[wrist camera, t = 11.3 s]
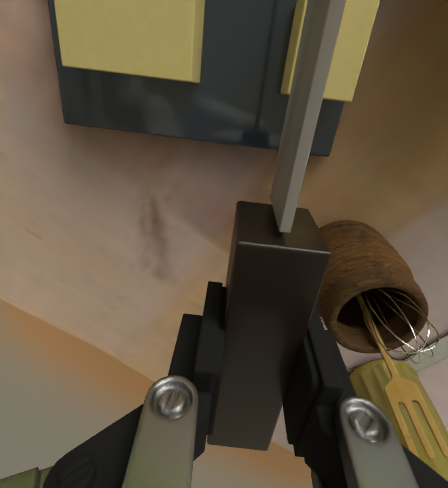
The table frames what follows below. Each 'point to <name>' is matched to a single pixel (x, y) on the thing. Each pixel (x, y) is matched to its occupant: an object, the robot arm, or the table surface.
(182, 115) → the board
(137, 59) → the butter block
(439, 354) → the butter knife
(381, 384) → the vase
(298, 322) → the table knife
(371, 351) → the utensil holder
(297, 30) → the butter pat
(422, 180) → the table surface
